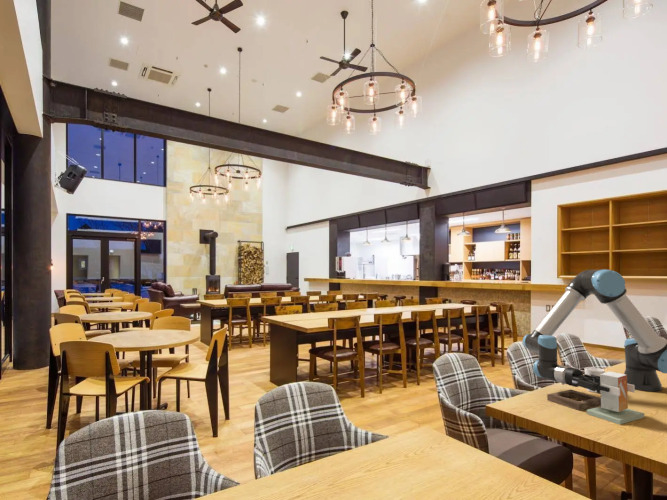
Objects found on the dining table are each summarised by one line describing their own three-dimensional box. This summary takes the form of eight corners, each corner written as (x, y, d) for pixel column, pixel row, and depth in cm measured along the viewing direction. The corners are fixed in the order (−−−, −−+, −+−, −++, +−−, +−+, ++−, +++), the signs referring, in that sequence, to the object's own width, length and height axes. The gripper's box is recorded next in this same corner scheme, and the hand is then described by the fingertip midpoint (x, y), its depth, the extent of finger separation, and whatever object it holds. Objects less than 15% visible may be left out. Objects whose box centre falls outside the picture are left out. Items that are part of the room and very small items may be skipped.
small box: (619, 412, 147) (618, 377, 148) (600, 407, 153) (599, 373, 153) (628, 408, 152) (627, 374, 153) (609, 403, 157) (608, 370, 158)
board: (611, 407, 161) (610, 403, 161) (644, 417, 150) (644, 413, 150) (586, 413, 154) (586, 409, 154) (619, 424, 143) (619, 420, 143)
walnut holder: (571, 395, 177) (570, 389, 177) (603, 404, 165) (603, 398, 165) (547, 400, 170) (547, 394, 170) (579, 410, 158) (579, 404, 158)
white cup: (605, 390, 184) (604, 368, 185) (605, 394, 178) (605, 372, 178) (585, 387, 189) (584, 366, 189) (585, 391, 182) (584, 369, 182)
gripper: (585, 381, 173) (643, 396, 153) (552, 388, 164) (610, 404, 144) (584, 364, 174) (642, 377, 153) (552, 370, 165) (609, 384, 144)
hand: (626, 390), depth 149 cm, fingers closed on small box, 9 cm apart
